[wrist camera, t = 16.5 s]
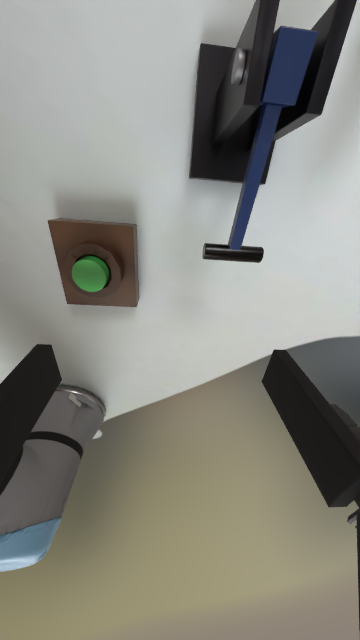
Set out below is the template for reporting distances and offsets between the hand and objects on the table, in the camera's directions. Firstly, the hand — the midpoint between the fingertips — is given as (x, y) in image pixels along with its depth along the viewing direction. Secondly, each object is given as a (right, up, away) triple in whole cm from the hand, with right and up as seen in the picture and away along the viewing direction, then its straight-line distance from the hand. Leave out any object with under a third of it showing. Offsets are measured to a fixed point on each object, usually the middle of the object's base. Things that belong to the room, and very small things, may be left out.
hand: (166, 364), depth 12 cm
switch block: (-10, +11, +17) cm, 23 cm away
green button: (-10, +9, +13) cm, 19 cm away
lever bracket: (+7, +24, +10) cm, 27 cm away
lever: (+7, +15, +5) cm, 17 cm away
